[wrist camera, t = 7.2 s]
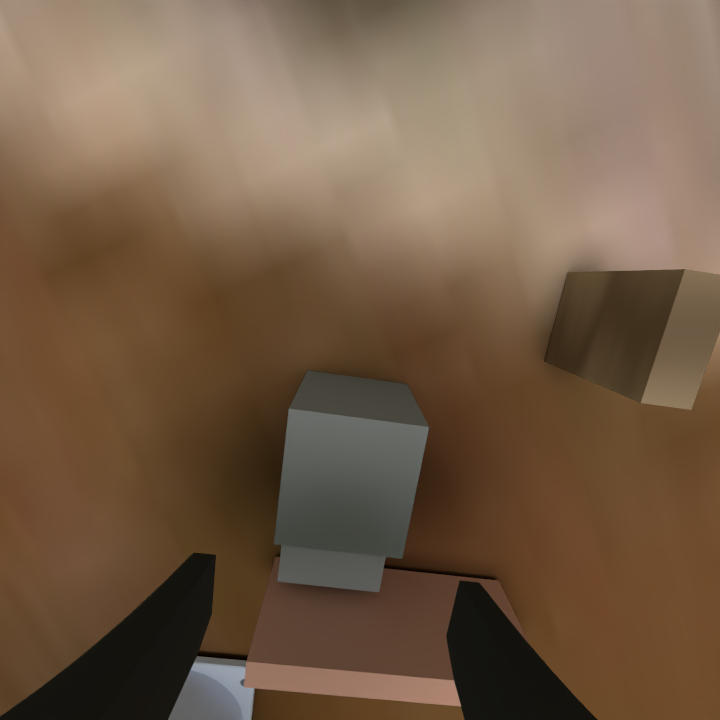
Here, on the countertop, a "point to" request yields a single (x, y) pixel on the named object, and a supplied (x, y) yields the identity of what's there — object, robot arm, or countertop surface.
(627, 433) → the countertop surface
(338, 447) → the block
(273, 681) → the door
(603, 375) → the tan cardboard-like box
